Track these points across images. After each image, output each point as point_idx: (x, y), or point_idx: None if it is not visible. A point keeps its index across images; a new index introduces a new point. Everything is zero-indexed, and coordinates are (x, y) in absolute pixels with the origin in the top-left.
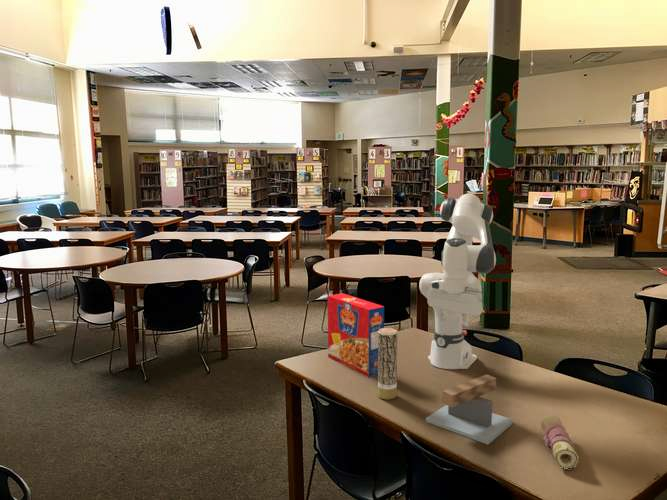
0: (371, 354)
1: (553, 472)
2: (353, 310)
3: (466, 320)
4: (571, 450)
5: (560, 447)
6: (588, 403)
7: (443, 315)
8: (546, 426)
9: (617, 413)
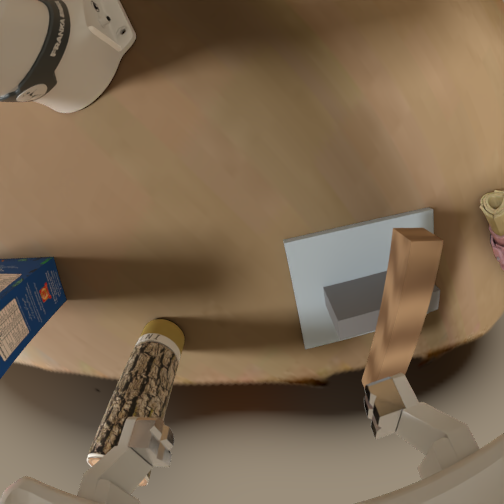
0: (35, 322)
1: (498, 285)
2: None
3: (412, 436)
4: None
5: None
6: (451, 10)
7: (149, 455)
8: (500, 232)
9: (489, 28)
